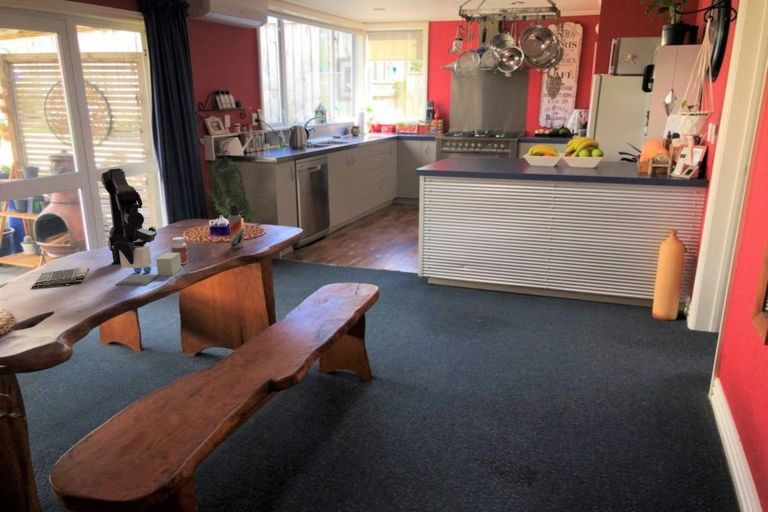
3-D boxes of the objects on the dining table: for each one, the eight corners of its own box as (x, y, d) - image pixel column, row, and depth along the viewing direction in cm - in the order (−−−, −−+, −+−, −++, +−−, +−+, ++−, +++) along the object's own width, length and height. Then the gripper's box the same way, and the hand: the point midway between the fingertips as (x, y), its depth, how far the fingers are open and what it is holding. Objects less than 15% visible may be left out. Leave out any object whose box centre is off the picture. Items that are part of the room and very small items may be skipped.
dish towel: (41, 276, 226) (39, 269, 226) (90, 271, 232) (89, 264, 232) (31, 290, 210) (29, 282, 209) (84, 285, 216) (83, 277, 215)
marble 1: (132, 273, 228) (131, 266, 227) (136, 271, 231) (135, 264, 230) (140, 273, 227) (139, 266, 227) (143, 271, 230) (142, 264, 230)
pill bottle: (190, 263, 241) (187, 238, 238) (175, 265, 238) (172, 240, 235) (186, 260, 246) (183, 235, 243) (171, 262, 243) (168, 237, 240)
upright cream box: (121, 267, 215) (118, 250, 213) (129, 263, 221) (126, 245, 219) (144, 267, 214) (141, 250, 212) (151, 263, 220) (149, 246, 218)
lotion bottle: (231, 248, 264) (227, 206, 259) (230, 245, 270) (227, 204, 264) (243, 247, 266) (240, 206, 260) (243, 244, 271) (239, 204, 266)
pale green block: (172, 275, 225) (170, 258, 223) (158, 275, 225) (156, 258, 223) (181, 268, 233) (180, 252, 231) (167, 268, 234) (165, 252, 232)
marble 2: (142, 273, 227) (141, 266, 227) (145, 271, 230) (145, 264, 229) (149, 273, 227) (148, 266, 226) (153, 271, 230) (152, 264, 229)
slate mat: (115, 285, 214) (115, 284, 214) (131, 275, 225) (130, 274, 225) (146, 285, 213) (146, 284, 213) (160, 275, 225) (160, 274, 224)
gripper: (139, 228, 203) (144, 269, 208) (162, 217, 221) (166, 255, 226) (109, 228, 204) (115, 268, 208) (134, 217, 222) (139, 255, 226)
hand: (135, 261), depth 217 cm, fingers closed on upright cream box, 6 cm apart
